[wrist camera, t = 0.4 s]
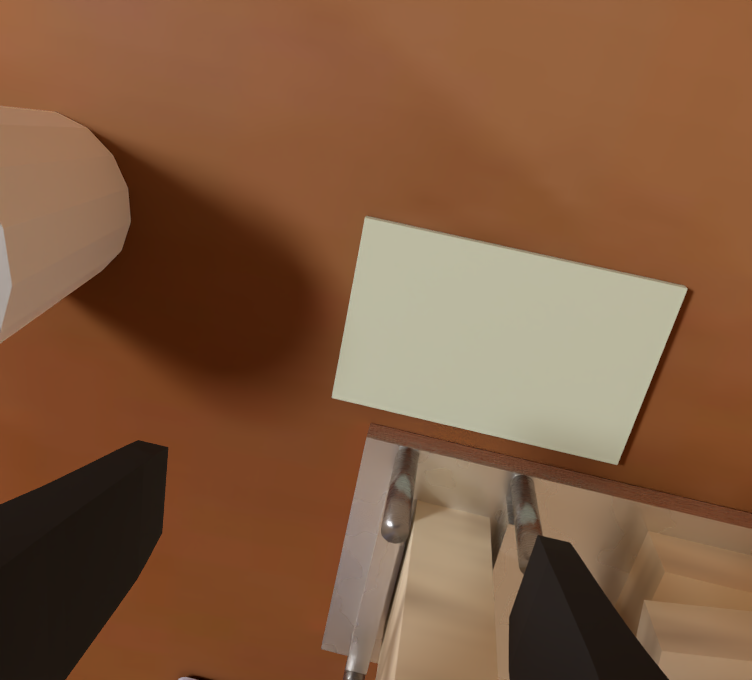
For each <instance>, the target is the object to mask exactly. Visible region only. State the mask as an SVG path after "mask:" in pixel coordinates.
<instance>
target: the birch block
mask: <svg viewBox="0 0 752 680" xmlns="http://www.w3.org/2000/svg"><path fill="white" fill-rule="evenodd" d="M376 680H498V665H497V646H496V627H495V607H494V588H493V569H492V550H491V530H490V518H489V517H485V516H480V515H476V514H472V513H468V512H464V511H460V510H456V509H452V508H447V507H443V506H439V505H435V504H431V503H427V502H423V501H419V500H417V502H416V506H415V510H414V514H413V518H412V521H411V525H410V529H409V535H408V538H407V541H406V544H405V548H404V552H403V556H402V560H401V563H400V567H399V571H398V575H397V579H396V583H395V586H394V590H393V594H392V598H391V602H390V605H389V609H388V613H387V617H386V621H385V625H384V630H383V637H382V643H381V649H380V656H379V662H378V669H377V675H376Z"/></svg>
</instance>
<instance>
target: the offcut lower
mask: <svg viewBox="0 0 752 680" xmlns="http://www.w3.org/2000/svg"><path fill="white" fill-rule="evenodd" d="M644 600H650V601H659V602H669V603H678V604H687V605H697V606H706V607H716V608H725V609H734V610H744V611H752V556H751V555H747V554H743V553H739V552H734V551H730V550H726V549H722V548H718V547H714V546H710V545H705V544H701V543H697V542H693V541H689V540H685V539H680V538H676V537H672V536H668V535H664V534H660V533H655V532H651V531H648V532H647V535H646V537H645V539H644V541H643V544H642V546H641V548H640V550H639V553H638V555H637V557H636V559H635V562H634V564H633V566H632V569H631V571H630V573H629V575H628V578H627V580H626V582H625V584H624V587H623V589H622V591H621V593H620V596H619V598H618V600H617V602H616V605H615V607H614V608H615V609H616V610H617V612H618V613H619V615H620V616H621V617H622V619H623V620H624V622H625V623H626V624H627V626H628V627H629V629H630V630H631V631H632V633H633V634H634V635H635V637H636V635H637V630H638V626H639V621H640V616H641V612H642V607H643V603H644Z"/></svg>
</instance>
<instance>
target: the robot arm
mask: <svg viewBox="0 0 752 680" xmlns="http://www.w3.org/2000/svg"><path fill="white" fill-rule="evenodd" d="M167 458H168V447H165V446H160V445H156V444H152V443H148V442H144V441H139V440H138V441H135V442H133V443H131V444H129V445H126V446H124V447H122V448H120V449H118V450H116V451H114V452H112V453H110V454H108V455H106V456H104V457H102V458H100V459H98V460H96V461H94V462H92V463H90V464H88V465H86V466H84V467H82V468H80V469H78V470H75V471H73V472H71V473H69V474H67V475H65V476H63V477H61V478H59V479H57V480H55V481H53V482H51V483H48V484H46V485H44V486H42V487H40V488H37V489H35V490H33V491H30V492H28V493H26V494H23V495H21V496H19V497H17V498H14V499H12V500H10V501H7V502H5V503H3V504H0V680H65V679H66V678H67V677H68V675H69V674H70V672H71V671H72V670H73V668H74V667H75V665H76V664H77V663H78V661H79V660H80V658H81V657H82V656H83V654H84V653H85V652H86V650H87V649H88V647H89V646H90V645H91V643H92V642H93V640H94V639H95V638H96V636H97V635H98V633H99V632H100V631H101V629H102V628H103V627H104V625H105V624H106V622H107V621H108V620H109V618H110V617H111V615H112V614H113V613H114V611H115V610H116V608H117V607H118V606H119V604H120V603H121V601H122V600H123V598H124V597H125V596H126V594H127V593H128V591H129V590H130V589H131V587H132V586H133V584H134V583H135V581H136V580H137V578H138V577H139V575H140V573H141V571H142V569H143V568H144V566H145V564H146V562H147V560H148V559H149V557H150V555H151V553H152V551H153V549H154V547H155V545H156V543H157V541H158V540H159V538H160V536H161V534H162V528H163V514H164V500H165V486H166V472H167ZM509 679H510V680H669V679H668V678H667V676H666V675H665V674H664V673H663V671H662V670H661V669H660V668H659V666H658V665H657V664H656V663H655V661H654V660H653V659H652V658H651V656H650V655H649V654H648V653H647V651H646V650H645V649H644V647H643V646H642V645H641V643H640V642H639V641H638V639H637V638H636V637H635V635H634V634H633V633H632V631H631V630H630V629H629V627H628V626H627V624H626V623H625V622H624V620H623V619H622V617H621V616H620V615H619V613H618V612H617V610H616V609H615V608H614V606H613V605H612V603H611V602H610V600H609V599H608V597H607V596H606V595H605V593H604V592H603V590H602V589H601V587H600V586H599V584H598V583H597V581H596V580H595V578H594V577H593V575H592V574H591V572H590V571H589V569H588V568H587V566H586V565H585V563H584V562H583V560H582V559H581V557H580V556H579V554H578V553H577V551H576V550H575V549H574V547H573V546H572V544H571V543H570V542H566V541H562V540H558V539H553V538H549V537H545V536H541V535H537V538H536V541H535V544H534V547H533V550H532V553H531V556H530V559H529V561H528V564H527V567H526V570H525V573H524V576H523V579H522V582H521V584H520V587H519V590H518V593H517V596H516V599H515V602H514V605H513V607H512V610H511V613H510V616H509ZM179 680H197V679H193V678H189V677H182V678H180V679H179Z"/></svg>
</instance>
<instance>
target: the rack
mask: <svg viewBox="0 0 752 680" xmlns="http://www.w3.org/2000/svg"><path fill="white" fill-rule="evenodd" d="M417 500H419V501H423V502H427V503H431V504H435V505H439V506H443V507H447V508H452V509H456V510H460V511H464V512H468V513H472V514H476V515H480V516H485V517H489V518H490V530H491V550H492V569H493V588H494V607H495V627H496V646H497V665H498V680H510V679H509V616H510V613H511V610H512V607H513V605H514V602H515V599H516V596H517V593H518V590H519V587H520V584H521V582H522V579H523V576H524V573H525V570H526V567H527V564H528V561H529V559H530V556H531V553H532V550H533V547H534V544H535V541H536V538H537V535H541V536H545V537H549V538H553V539H558V540H562V541H566V542H570V543H571V544H572V546H573V547H574V549H575V550H576V551H577V553H578V554H579V556H580V557H581V559H582V560H583V562H584V563H585V565H586V566H587V568H588V569H589V571H590V572H591V574H592V575H593V577H594V578H595V580H596V581H597V583H598V584H599V586H600V587H601V589H602V590H603V592H604V593H605V595H606V596H607V597H608V599H609V600H610V602H611V603H612V605H613V606H614V607H615V605H616V602H617V600H618V598H619V596H620V593H621V591H622V589H623V587H624V584H625V582H626V580H627V578H628V575H629V573H630V571H631V569H632V566H633V564H634V562H635V559H636V557H637V555H638V553H639V550H640V548H641V546H642V544H643V541H644V539H645V537H646V535H647V532H648V531H651V532H655V533H660V534H664V535H668V536H672V537H676V538H680V539H685V540H689V541H693V542H697V543H701V544H705V545H710V546H714V547H718V548H722V549H726V550H730V551H734V552H739V553H743V554H747V555H751V556H752V514H751V513H747V512H743V511H739V510H735V509H730V508H726V507H722V506H718V505H713V504H709V503H705V502H701V501H697V500H692V499H688V498H684V497H680V496H676V495H671V494H667V493H663V492H659V491H654V490H650V489H646V488H642V487H638V486H633V485H629V484H625V483H621V482H616V481H612V480H608V479H604V478H600V477H595V476H591V475H587V474H583V473H578V472H574V471H570V470H566V469H562V468H557V467H553V466H549V465H545V464H540V463H536V462H532V461H528V460H524V459H519V458H515V457H511V456H507V455H503V454H498V453H494V452H490V451H486V450H481V449H477V448H473V447H469V446H465V445H460V444H456V443H452V442H448V441H443V440H439V439H435V438H431V437H427V436H422V435H418V434H414V433H410V432H405V431H401V430H397V429H393V428H389V427H384V426H380V425H376V424H372V423H371V424H370V427H369V431H368V434H367V438H366V442H365V447H364V451H363V456H362V461H361V465H360V470H359V475H358V479H357V484H356V489H355V493H354V498H353V503H352V507H351V512H350V517H349V521H348V526H347V531H346V535H345V540H344V545H343V549H342V554H341V559H340V563H339V568H338V573H337V577H336V582H335V586H334V591H333V596H332V600H331V605H330V610H329V614H328V619H327V624H326V628H325V633H324V638H323V642H322V647H321V649H324V650H327V651H331V652H335V653H339V654H343V655H347V656H348V658H347V663H346V667H345V672H344V677H343V680H365V675H366V674H367V670H368V666H369V662H374V663H378V662H379V656H380V649H381V643H382V637H383V630H384V625H385V621H386V617H387V613H388V609H389V605H390V602H391V598H392V594H393V590H394V586H395V583H396V579H397V575H398V571H399V567H400V563H401V560H402V556H403V552H404V548H405V544H406V541H407V538H408V535H409V529H410V525H411V521H412V518H413V514H414V510H415V506H416V502H417Z"/></svg>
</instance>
